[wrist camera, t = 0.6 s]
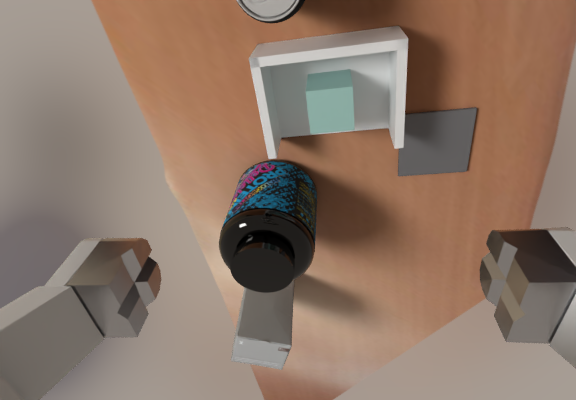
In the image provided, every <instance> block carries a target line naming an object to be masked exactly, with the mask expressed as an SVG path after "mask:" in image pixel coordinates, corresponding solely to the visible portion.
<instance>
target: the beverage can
mask: <svg viewBox="0 0 576 400" xmlns="http://www.w3.org/2000/svg"><path fill="white" fill-rule="evenodd" d="M236 1H237V2H238V4H239V6H240V7H241V8H242V9H243V10H244V11H245V12H246V13H247V14H248V15H249V16H251V17H252V18H254V19H256V20H258V21H261V22H265V23H278V22H282V21H285V20H287V19H289V18H290V17H292V16H293V15H294V14H295V13H296V12H297V11H298V10H299V9H300V8H301V6H302V5H303V3H304V1H305V0H236Z"/></svg>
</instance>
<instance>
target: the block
mask: <svg viewBox="0 0 576 400" xmlns="http://www.w3.org/2000/svg"><path fill="white" fill-rule="evenodd" d="M306 100H307V108H308V117H309V125H310V134H317V133H328V132H339V131H350V130H355V127H354V102H353V84H352V78H351V72H350V69H348V70H339V71H330V72H322V73H313V74H308V78H307V85H306Z"/></svg>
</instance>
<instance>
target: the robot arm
mask: <svg viewBox="0 0 576 400" xmlns="http://www.w3.org/2000/svg"><path fill="white" fill-rule="evenodd" d="M486 244H487V246H488V248H489V250H490V253H488V254H487V255H486V256H485V257H483V258H482V262H481V266H480V282H481V286H482V290H483V292H484V294H485V297H486V299H487V300H488V301H490V302H491V303H493V304H494V305H495V306H497V308H496V311H495V314H494V317H495V319H496V321H497V323H498V326H499V328H500V330H501V332H502V334H503V337H504V339H505V341H506V342H523V343H549V344H550V347H552V348H553V349H554V350H555V351H556V352H557V353H558V354H560V355H561V356H562V357H563V358H564V359H565V360H567V361H568V362H569V363H570V364H571V365H572V366H573V367H575V368H576V232H575V231H574V230H572V229H570V228H568V227H561V228H542V229H516V230H492V232H491V233H490V234H489V236H488V240H487V243H486ZM151 250H152V249H151V248H150V245H149V243H148V241H147V240H145V239H143V238H105V239H103V238H100V239H99V238H93V239H92V238H88V239H85V240H83V241H81V242H80V243H79V244H78V246H77V247H76V248H75V249H74V250H73V252H72V253H71V254H70V255H69V257H68V258H67V259H66V260H65V262H64V263H63V264H62V265H61V266H60V267H59V269H58V270H57V271H56V272H55V274H54V275H53V276H52V277H51V279H50V280H49V281H48V282H47V283H46V285H45V286H44V287H36V288H35V289H33V290H31V291H30V292H28V293H26V294H25V295H23V296H21V297H20V298H18V299H16V300H14V301H13V302H11V303H9V304H8V305H6V306H4V307H3V308H1V309H0V400H40V399H41V398H42V397H43V396H44V395H45V394H46V393H47V392H48V391H49V390H51V389H52V388H53V387H54V386H55V385H56V384H57V383H58V382H59V381H60V380H61V379H62V378H63V377H65V376H66V375H67V374H68V373H69V372H70V371H71V370H72V369H73V368H74V367H75V366H76V365H78V363H80V362H81V361H82V360H83V359H84V358H85V357H86V356H87V355H88V354H89V353H90V352H92V350H94V349H95V348H96V347H97V346H98V345H99V344H100V343H101V342H102V341H103V340H104V338H115V337H138V335H139V332H140V331H141V329H142V326H143V324H144V322H145V320H146V318H147V316H148V311H147V309H146V306H148V305H149V304H150V303H151V302H153V301H154V300H155V299H156V297H157V294H158V292H159V290H160V283H161V273H160V269H159V266H158V264H157V262H155V261H154V260H153V259H151V258H150V257H149V255H150V253H151Z"/></svg>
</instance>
